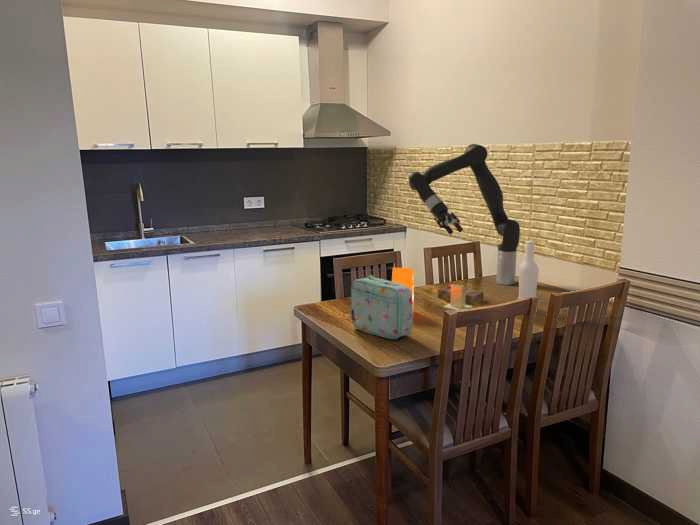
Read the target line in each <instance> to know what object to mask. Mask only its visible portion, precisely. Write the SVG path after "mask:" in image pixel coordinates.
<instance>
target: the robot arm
mask: <svg viewBox="0 0 700 525" xmlns="http://www.w3.org/2000/svg"><path fill="white" fill-rule="evenodd" d="M487 158H488V150H487V148H486V147H485V146H484V145H480V144H477V143H472V144H469V145H468V146H466V148H465V149H464V153H463V154H460V155H458V156H456V157H454V158H451V159H447V160H443V161H440V162H438V163H436V164H434V165H432V166H430V167H428V168H426V169H425V171H424V172H423V173H421V172H419V171H413V172H411V173H410V174H409V177H408V185H409V188H410V189H411V190H412V191H416V192H417V194H418V198H420V200H421V201H422V202H423V203H424V205H425V206H426V209H427V210H429V212H430V214H431V215H432V216H433V217H434V220H435V222H436V224H437V225H438V227H439V228H441V229H444V230H445V231H446V232H447V233H448V234H449V235H452V234H454V230H453V229H452V228H451V226H450V225H452V226H454V228H455V229H456V230H457V231H458V233H461V232H463V231H464V229H463V227H462V226H461V225H460V222H461V220H460V219H459V218H458V216H456V214H455V213H453V212H451V213H449V212H448V211H449V208H448V206H447V205H446V204H445V203H444V201H443V200H442V199H441V197H439V196H438V194H436V192H435V191H434V190H433V189H432V188H431V186H430V185H431V184H432V183H433V182H434V181H437V180H441V179H442V178H445V177H446V176H448V175H450V174H453V173H455V172H458V171H459V170H460V171H461V170H463V169H466V168H470V169H471V170H472V173H473V175H474V177H475V180H476V182H477V185H478V188H479V191H480V193H481V195H482V198H483V200H484V202H485V204H486V206H487V209H488V211H489V213H490V215H491V218H492V221H493V226H494V227H495V231H496V234H498V235H499V236H501V237H502V241H501V243H500V244H498V245H497V263H496V277H495V278H496V280H495V281H496V283H497V284H498V285H499V284H500V285H505V286H511V285H515V284H516V275H517V274H516V272H517V271H516V270H517V250H518V249H517V248H518V246H519V244H520V234H521V227H520V223H519V222H518V221H517V220H515V219H510V218H509V217H508V215H507V214H506V211H505V209H504V195H503V190H502V189H501V187H500V186H501V185H500V184H499V182H498V180H497V179H496V177H495V176H494V175H493V173H492V171H490V168H488V166H487V163H486V160H487Z"/></svg>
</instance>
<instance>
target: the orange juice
mask: <svg viewBox="0 0 700 525" xmlns="http://www.w3.org/2000/svg"><path fill="white" fill-rule="evenodd" d="M414 279H415V278H414V268H413V267H392V274H391V281H392V282H396V283H399V284H402V285H405V286H407V287H408V288H410V290H411V292H412V300H413V312H414V310H415V309H414V306H415V305H414V304H415V303H414V297H415V293H414V292H415V288H414V284H415V282H414V281H415V280H414Z"/></svg>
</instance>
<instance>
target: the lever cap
mask: <svg viewBox="0 0 700 525" xmlns="http://www.w3.org/2000/svg"><path fill="white" fill-rule="evenodd" d="M452 284H453V283H452ZM466 289H467V286H466V285H464V284H459V283H454V284H453V285H451V301H450V303H449V304H450V306H453V307H457V308H463V307H465V305H466V304H465V295H466Z"/></svg>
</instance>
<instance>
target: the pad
mask: <svg viewBox="0 0 700 525" xmlns="http://www.w3.org/2000/svg"><path fill="white" fill-rule="evenodd" d="M473 306H474V305H469V304H465V307H463V308H457V307H453V306H450V303H448V304H445V305H443V306H442V308H443V309H449V310H453V311H456V310H459V309H467V308H471V309H473Z"/></svg>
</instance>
